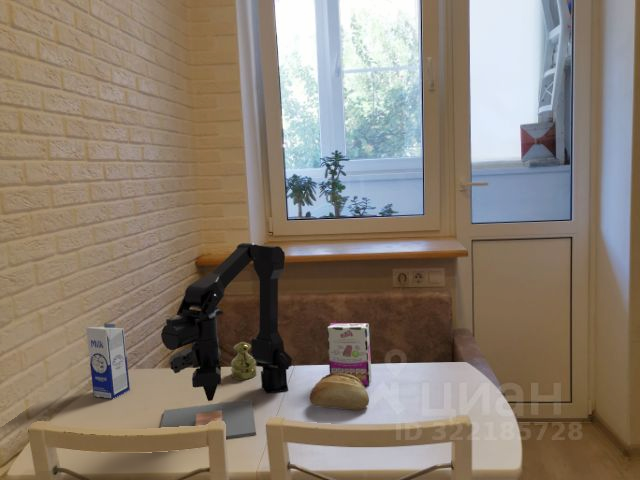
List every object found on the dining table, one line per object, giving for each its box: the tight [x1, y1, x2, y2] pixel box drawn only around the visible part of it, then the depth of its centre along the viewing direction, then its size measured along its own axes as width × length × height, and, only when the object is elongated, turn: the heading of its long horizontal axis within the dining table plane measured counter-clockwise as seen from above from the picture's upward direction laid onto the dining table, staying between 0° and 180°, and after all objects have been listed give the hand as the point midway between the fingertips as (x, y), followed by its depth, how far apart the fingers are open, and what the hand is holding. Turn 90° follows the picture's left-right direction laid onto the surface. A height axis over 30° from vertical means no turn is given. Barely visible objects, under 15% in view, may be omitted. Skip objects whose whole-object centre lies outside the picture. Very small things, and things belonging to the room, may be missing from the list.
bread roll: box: [309, 373, 370, 411], centre depth 132 cm, size 10×15×8 cm, turn 81°
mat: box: [160, 399, 257, 440], centre depth 127 cm, size 22×18×1 cm
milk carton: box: [85, 322, 131, 400], centre depth 146 cm, size 7×7×20 cm
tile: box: [195, 410, 222, 426], centre depth 124 cm, size 6×2×8 cm
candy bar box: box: [326, 322, 372, 386], centre depth 146 cm, size 11×5×16 cm, turn 77°
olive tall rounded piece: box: [230, 341, 257, 380], centre depth 155 cm, size 7×7×10 cm
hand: (210, 400), depth 125 cm, fingers closed
